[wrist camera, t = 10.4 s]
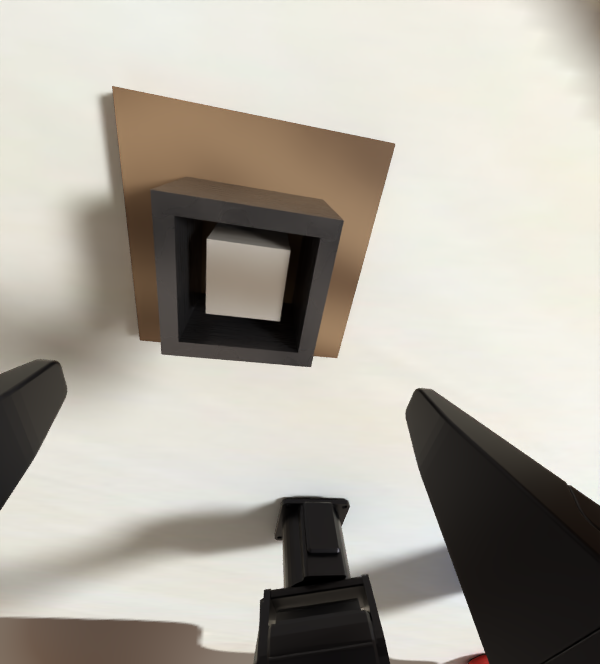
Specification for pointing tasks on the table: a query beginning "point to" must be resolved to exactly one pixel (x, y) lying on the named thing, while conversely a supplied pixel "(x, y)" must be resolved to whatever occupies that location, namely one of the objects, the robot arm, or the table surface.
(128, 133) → the post block
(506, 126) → the table surface
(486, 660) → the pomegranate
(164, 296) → the grey cube shelf
